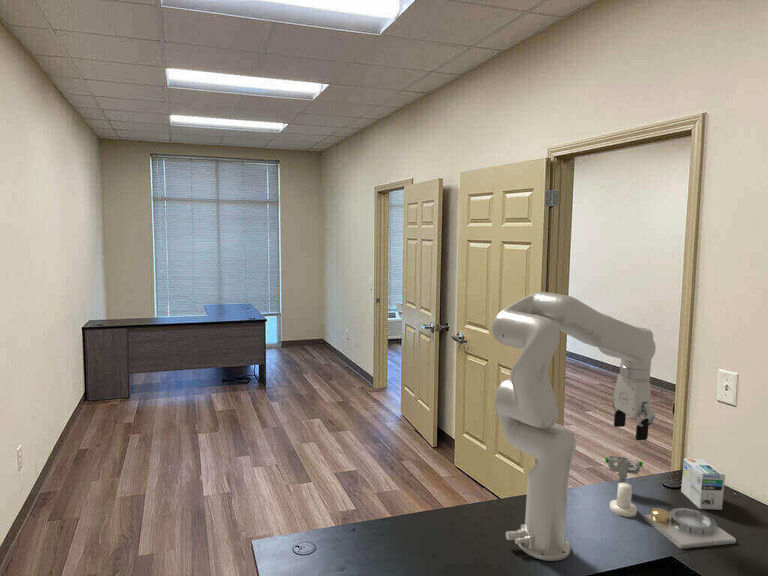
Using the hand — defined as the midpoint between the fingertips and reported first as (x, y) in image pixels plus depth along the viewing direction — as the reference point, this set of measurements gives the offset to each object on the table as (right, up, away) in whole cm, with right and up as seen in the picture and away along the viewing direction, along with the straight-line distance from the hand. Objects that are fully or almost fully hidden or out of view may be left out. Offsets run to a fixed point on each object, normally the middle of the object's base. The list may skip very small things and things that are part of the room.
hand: (630, 432), depth 153 cm
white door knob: (-1, -23, +3) cm, 23 cm away
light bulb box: (+25, -23, +10) cm, 35 cm away
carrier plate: (+12, -24, -7) cm, 28 cm away
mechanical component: (+4, -22, +15) cm, 26 cm away
